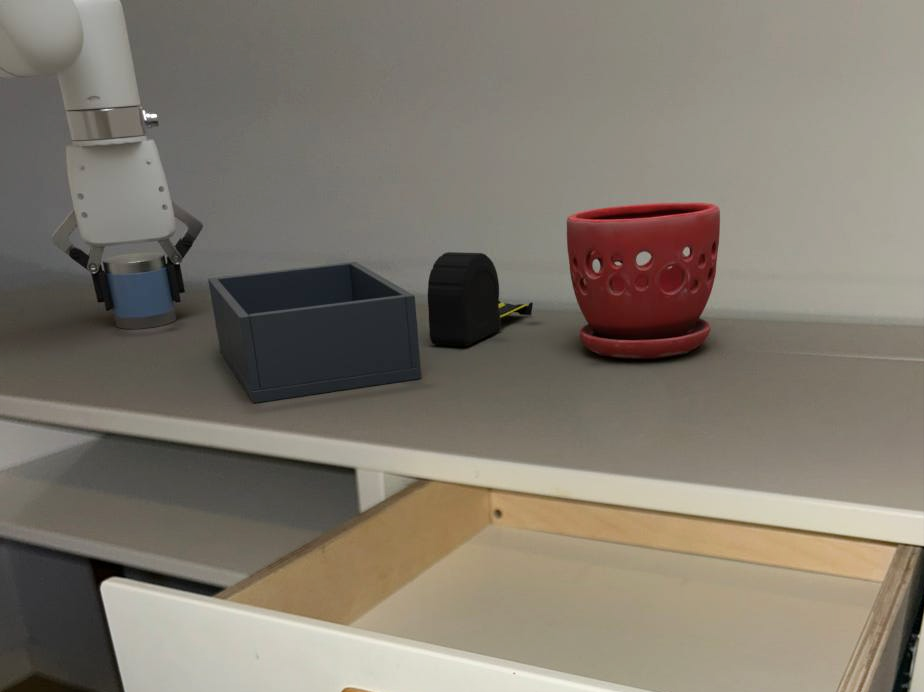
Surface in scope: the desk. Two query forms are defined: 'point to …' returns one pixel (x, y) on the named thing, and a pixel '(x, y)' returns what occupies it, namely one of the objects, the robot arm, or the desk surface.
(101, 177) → the robot arm
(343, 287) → the dark blue open box
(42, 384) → the desk surface
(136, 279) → the can
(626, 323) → the flower pot
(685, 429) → the desk surface
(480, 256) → the tape measure
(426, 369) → the desk surface
